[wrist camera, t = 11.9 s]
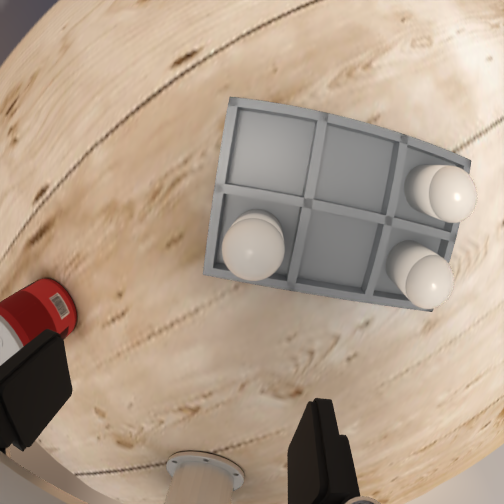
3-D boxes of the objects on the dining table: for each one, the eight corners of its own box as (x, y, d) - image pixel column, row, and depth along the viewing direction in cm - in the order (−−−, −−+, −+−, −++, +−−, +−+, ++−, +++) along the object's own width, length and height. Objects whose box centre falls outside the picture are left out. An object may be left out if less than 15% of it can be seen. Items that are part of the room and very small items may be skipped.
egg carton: (424, 303, 28) (432, 311, 26) (207, 267, 29) (202, 274, 27) (460, 160, 24) (471, 160, 22) (232, 101, 24) (229, 96, 22)
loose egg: (277, 263, 28) (278, 296, 21) (227, 254, 28) (212, 283, 21) (287, 214, 26) (292, 231, 19) (235, 204, 26) (221, 218, 19)
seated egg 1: (438, 217, 25) (480, 234, 18) (399, 206, 25) (437, 220, 18) (447, 172, 24) (491, 176, 17) (408, 158, 24) (449, 158, 17)
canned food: (36, 266, 31) (-25, 299, 20) (82, 295, 31) (24, 340, 20) (33, 313, 33) (-17, 351, 22) (76, 342, 33) (29, 390, 23)
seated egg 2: (418, 287, 27) (452, 320, 20) (380, 281, 27) (408, 316, 20) (431, 244, 26) (470, 268, 19) (392, 235, 26) (427, 258, 19)
